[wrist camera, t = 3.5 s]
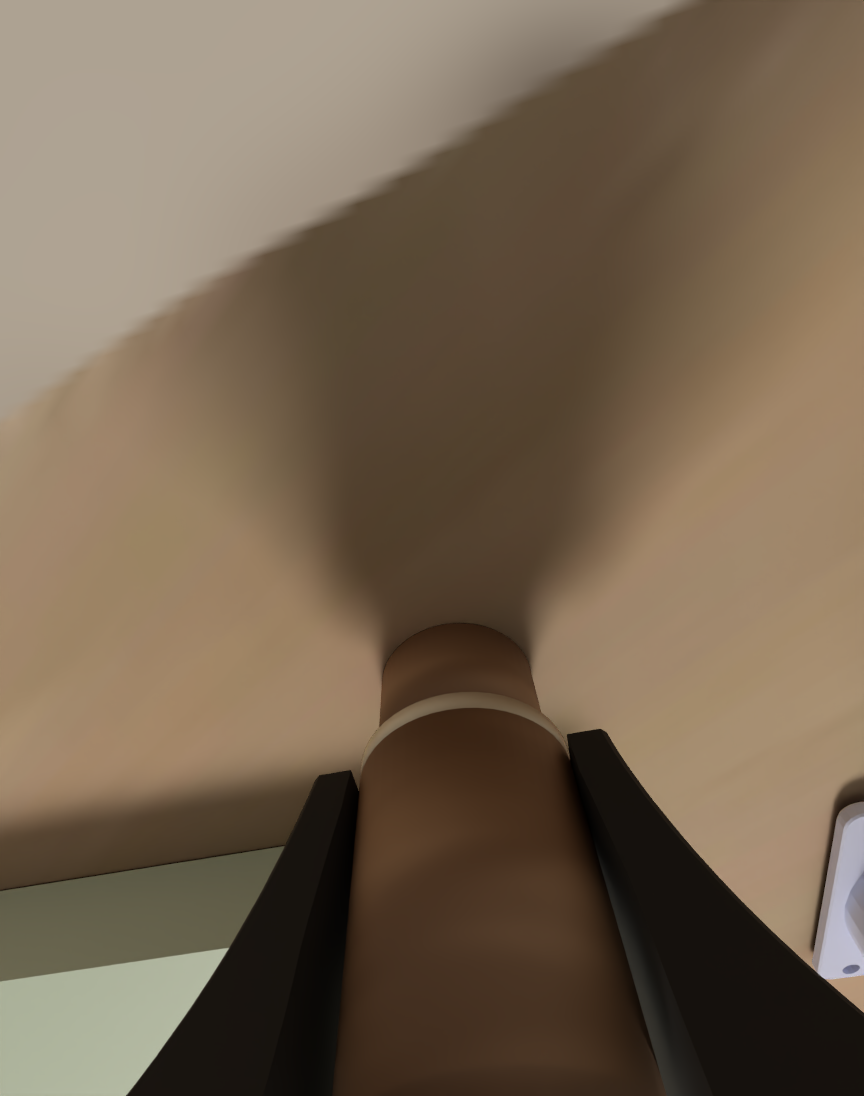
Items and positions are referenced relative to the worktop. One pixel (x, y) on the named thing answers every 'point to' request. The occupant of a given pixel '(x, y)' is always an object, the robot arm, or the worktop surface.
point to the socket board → (112, 968)
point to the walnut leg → (479, 896)
